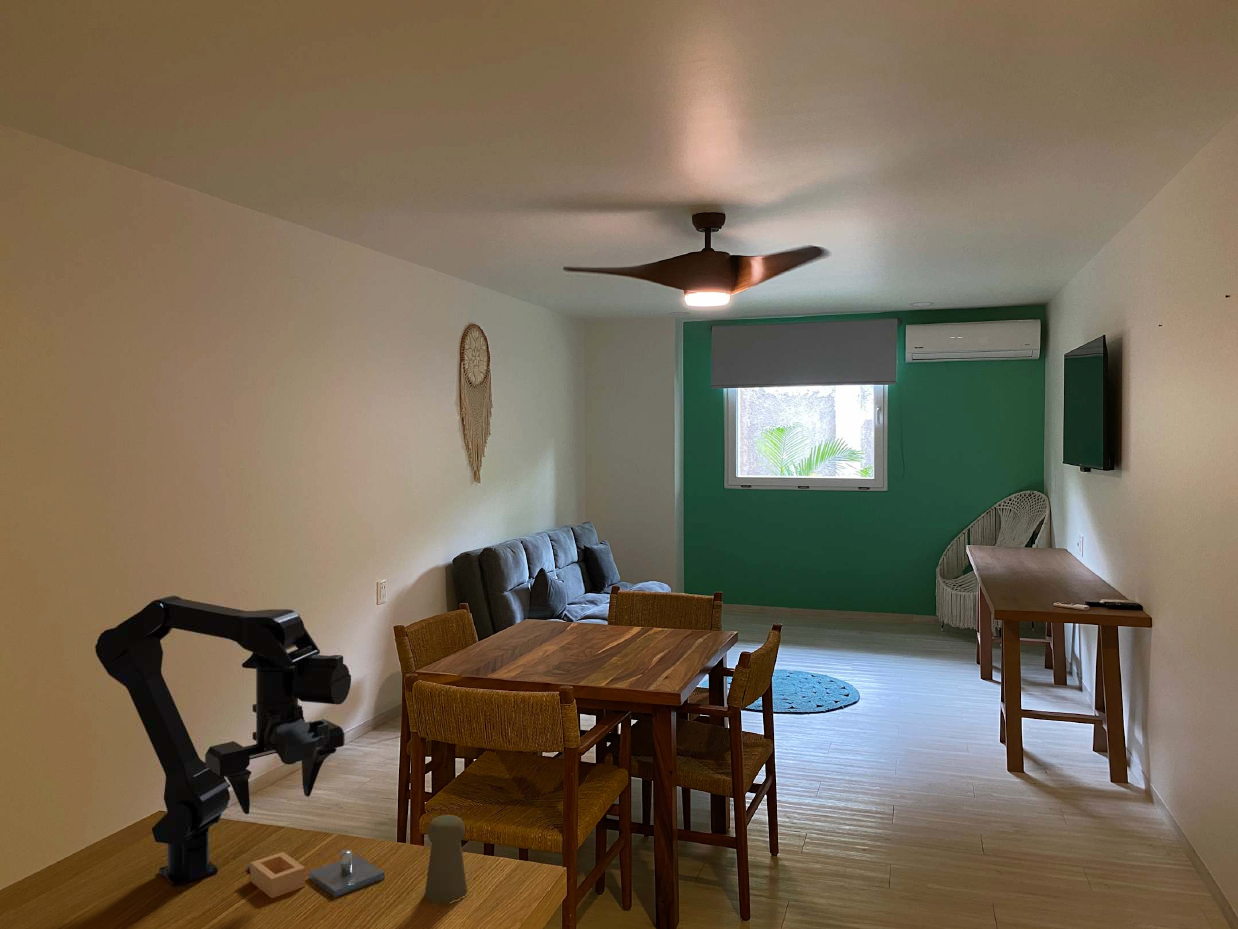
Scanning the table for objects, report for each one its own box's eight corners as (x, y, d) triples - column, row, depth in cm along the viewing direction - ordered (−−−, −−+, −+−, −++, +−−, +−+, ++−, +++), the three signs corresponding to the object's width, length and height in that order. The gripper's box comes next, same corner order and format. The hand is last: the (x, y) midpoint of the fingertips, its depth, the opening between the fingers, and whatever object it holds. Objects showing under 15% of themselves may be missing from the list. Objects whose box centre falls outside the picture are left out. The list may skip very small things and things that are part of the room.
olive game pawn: (458, 906, 131) (458, 829, 131) (417, 902, 132) (417, 825, 132) (473, 886, 137) (473, 811, 136) (434, 881, 138) (434, 808, 138)
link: (250, 881, 138) (250, 862, 138) (283, 870, 141) (283, 852, 141) (271, 898, 133) (271, 879, 133) (305, 886, 136) (304, 867, 136)
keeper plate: (308, 878, 139) (308, 851, 139) (357, 860, 144) (357, 835, 144) (334, 897, 133) (334, 870, 133) (384, 878, 139) (384, 852, 139)
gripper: (236, 725, 124) (237, 842, 124) (363, 698, 137) (363, 803, 137) (203, 707, 131) (203, 816, 132) (326, 682, 145) (326, 782, 145)
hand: (277, 804), depth 137 cm, fingers open, 9 cm apart
